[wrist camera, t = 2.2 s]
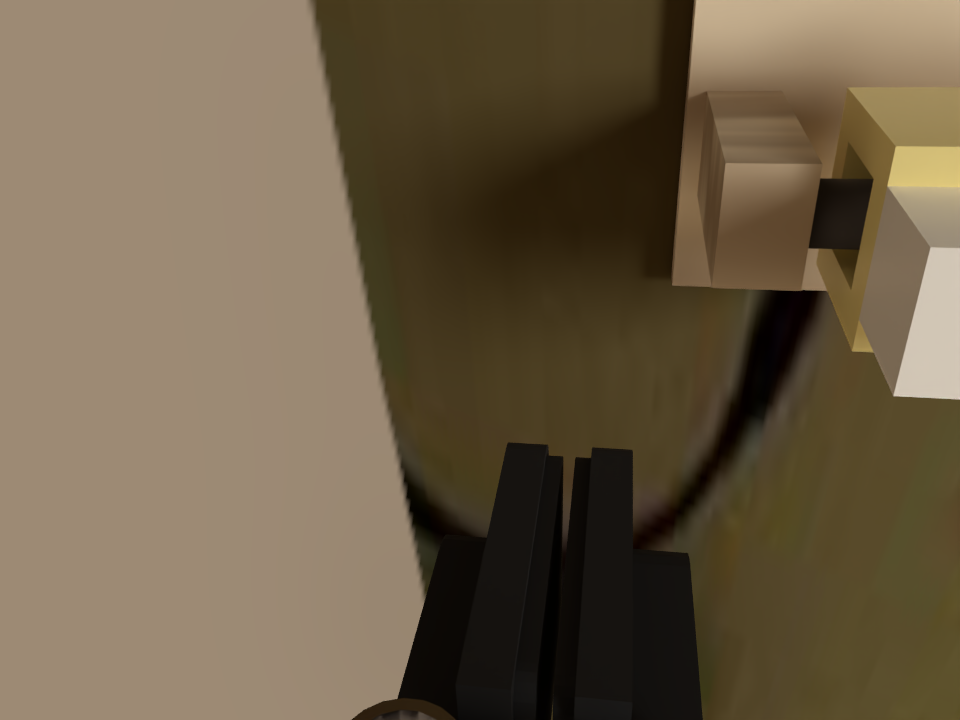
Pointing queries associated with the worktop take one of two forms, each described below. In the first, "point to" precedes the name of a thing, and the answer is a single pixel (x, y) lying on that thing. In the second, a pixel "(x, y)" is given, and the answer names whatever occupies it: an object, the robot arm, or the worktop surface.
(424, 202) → the worktop surface
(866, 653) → the worktop surface
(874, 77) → the roller holder rack
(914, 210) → the sleeve
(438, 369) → the worktop surface
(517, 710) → the robot arm
